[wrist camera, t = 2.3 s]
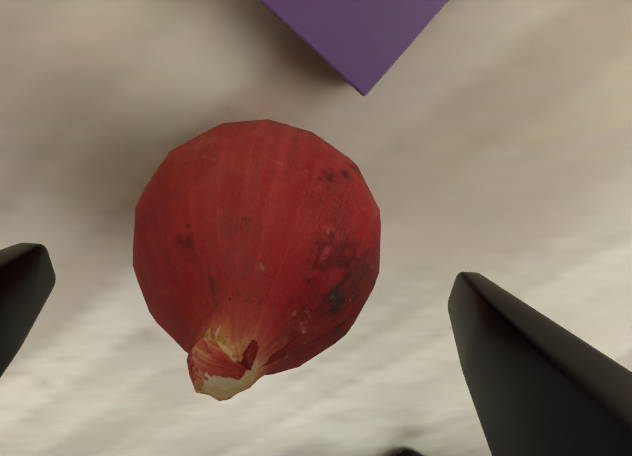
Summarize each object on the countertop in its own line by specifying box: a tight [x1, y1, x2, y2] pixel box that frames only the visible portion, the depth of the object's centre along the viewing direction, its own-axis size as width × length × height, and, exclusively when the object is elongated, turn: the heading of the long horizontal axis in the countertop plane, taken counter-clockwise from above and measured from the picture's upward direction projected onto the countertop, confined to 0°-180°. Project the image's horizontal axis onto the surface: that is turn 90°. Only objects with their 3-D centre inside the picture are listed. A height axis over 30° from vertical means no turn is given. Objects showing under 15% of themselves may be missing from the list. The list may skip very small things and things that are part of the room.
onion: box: [133, 120, 381, 401], centre depth 9 cm, size 6×6×8 cm
